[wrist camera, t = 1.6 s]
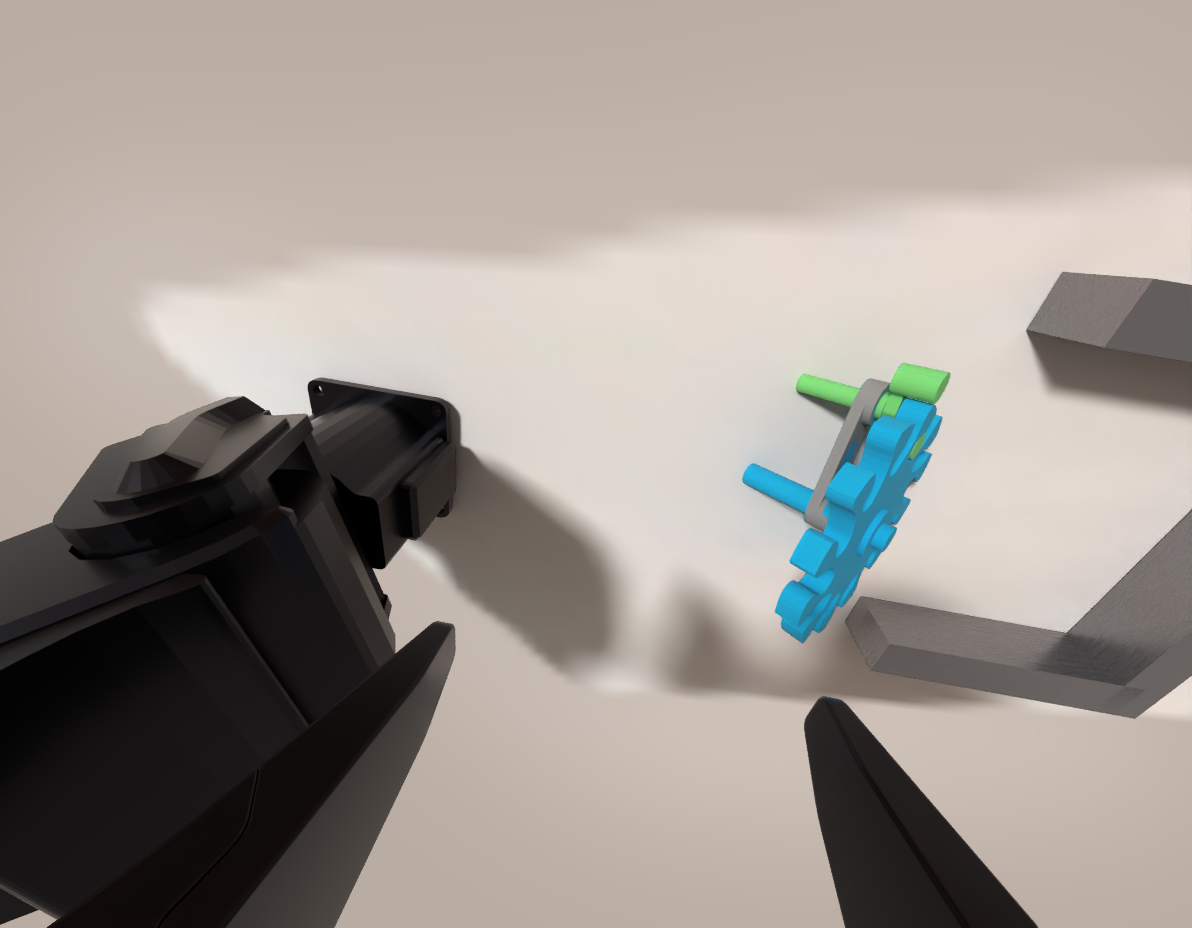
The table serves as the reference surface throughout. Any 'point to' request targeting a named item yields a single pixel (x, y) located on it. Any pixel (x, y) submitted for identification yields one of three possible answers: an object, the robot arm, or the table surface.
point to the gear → (854, 488)
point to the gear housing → (1126, 614)
